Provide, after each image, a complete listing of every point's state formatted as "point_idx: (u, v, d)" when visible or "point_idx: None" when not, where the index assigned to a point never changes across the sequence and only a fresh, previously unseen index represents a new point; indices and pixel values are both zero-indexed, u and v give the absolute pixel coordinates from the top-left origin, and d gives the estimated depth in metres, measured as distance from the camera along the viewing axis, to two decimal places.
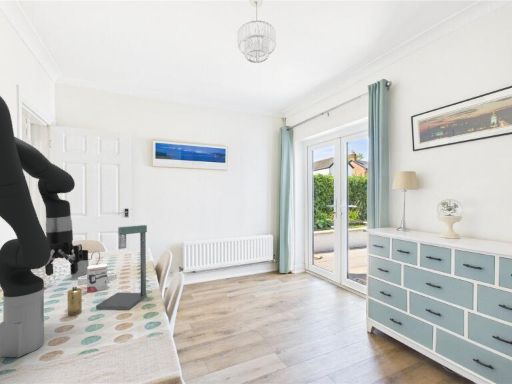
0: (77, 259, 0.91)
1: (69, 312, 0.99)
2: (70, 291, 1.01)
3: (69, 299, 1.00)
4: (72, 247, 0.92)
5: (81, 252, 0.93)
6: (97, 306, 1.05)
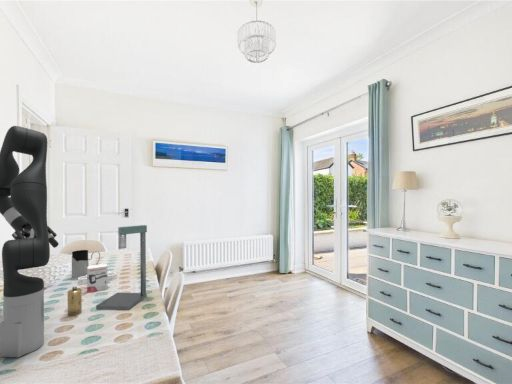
0: (54, 233, 1.10)
1: (69, 312, 0.99)
2: (70, 291, 1.01)
3: (69, 299, 1.00)
4: None
5: None
6: (97, 306, 1.05)
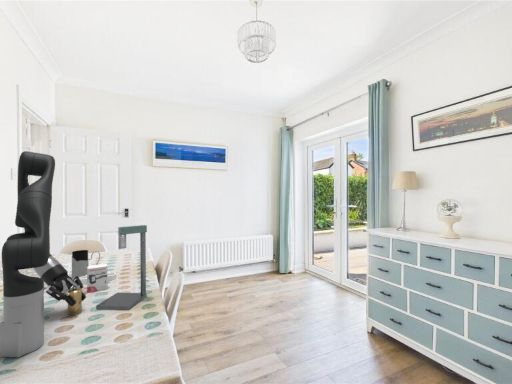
0: (81, 285, 1.07)
1: (69, 312, 1.00)
2: (70, 291, 1.01)
3: None
4: (72, 278, 1.07)
5: None
6: (97, 306, 1.05)
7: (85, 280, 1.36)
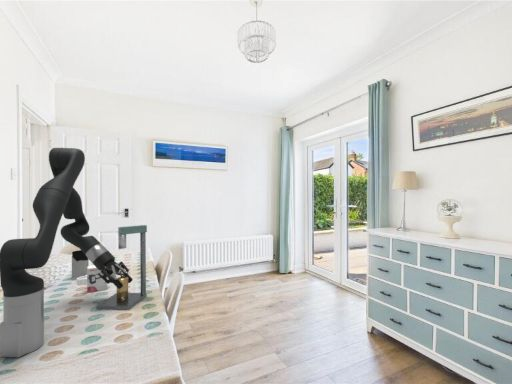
0: (127, 269, 1.18)
1: (118, 297, 1.09)
2: (119, 278, 1.11)
3: None
4: (118, 264, 1.17)
5: None
6: (97, 306, 1.05)
7: (84, 280, 1.35)
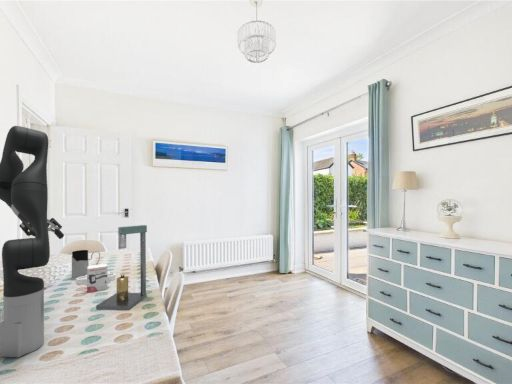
0: (60, 225, 1.13)
1: (118, 297, 1.09)
2: (119, 278, 1.11)
3: (118, 286, 1.09)
4: (48, 220, 1.11)
5: None
6: (97, 306, 1.05)
7: (83, 280, 1.35)
